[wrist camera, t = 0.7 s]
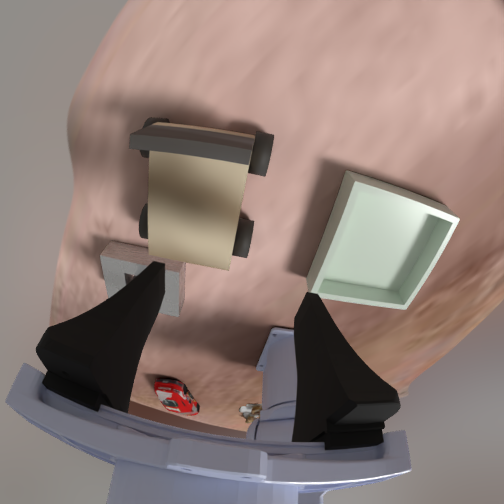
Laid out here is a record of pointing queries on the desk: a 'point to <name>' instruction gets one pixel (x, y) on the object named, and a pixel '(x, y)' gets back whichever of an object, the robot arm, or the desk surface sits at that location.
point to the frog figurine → (251, 412)
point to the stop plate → (133, 263)
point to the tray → (379, 244)
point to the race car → (176, 397)
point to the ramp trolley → (198, 190)
